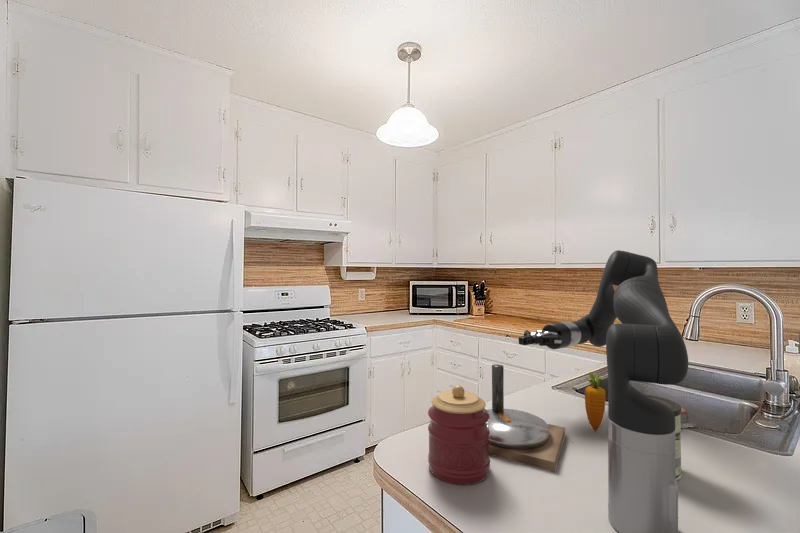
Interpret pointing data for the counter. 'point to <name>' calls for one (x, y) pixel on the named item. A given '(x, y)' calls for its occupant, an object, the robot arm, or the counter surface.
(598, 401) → the carrot
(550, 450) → the base board
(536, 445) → the wheel
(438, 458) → the canister
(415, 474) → the counter surface
